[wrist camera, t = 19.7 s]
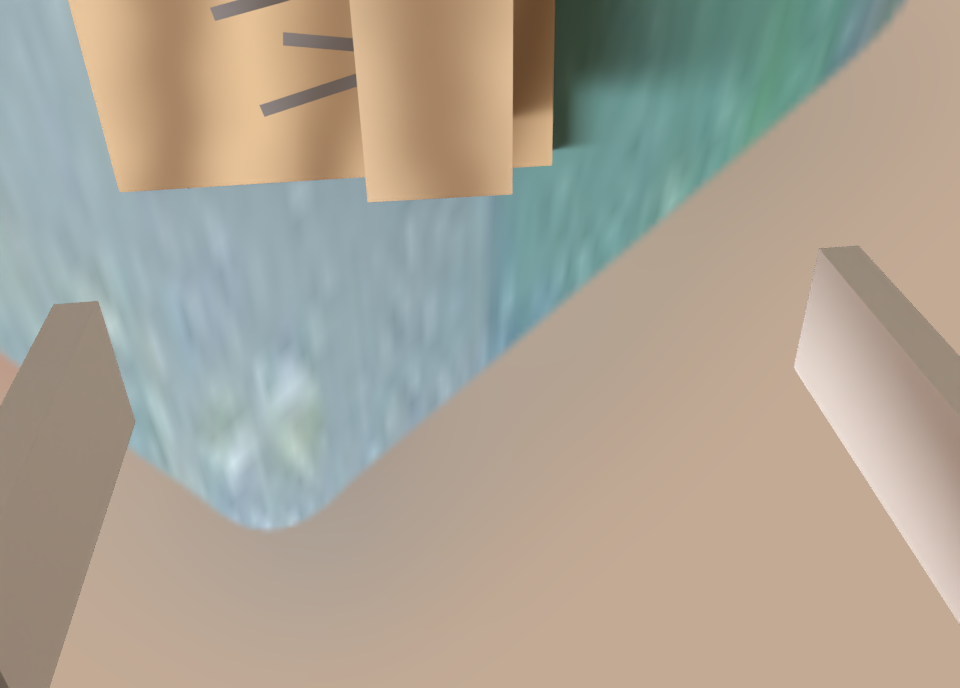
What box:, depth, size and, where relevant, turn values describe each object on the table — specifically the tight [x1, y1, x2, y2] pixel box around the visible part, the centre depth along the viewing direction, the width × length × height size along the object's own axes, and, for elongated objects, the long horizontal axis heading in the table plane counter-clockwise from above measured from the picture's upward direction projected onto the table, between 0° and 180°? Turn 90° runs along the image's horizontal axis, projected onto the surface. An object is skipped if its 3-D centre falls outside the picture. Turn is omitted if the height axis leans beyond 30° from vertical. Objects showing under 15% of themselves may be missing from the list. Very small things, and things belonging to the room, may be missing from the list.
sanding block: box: [349, 0, 513, 202], centre depth 32 cm, size 5×8×7 cm, turn 1°
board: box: [68, 0, 555, 192], centre depth 36 cm, size 18×12×2 cm, turn 92°
